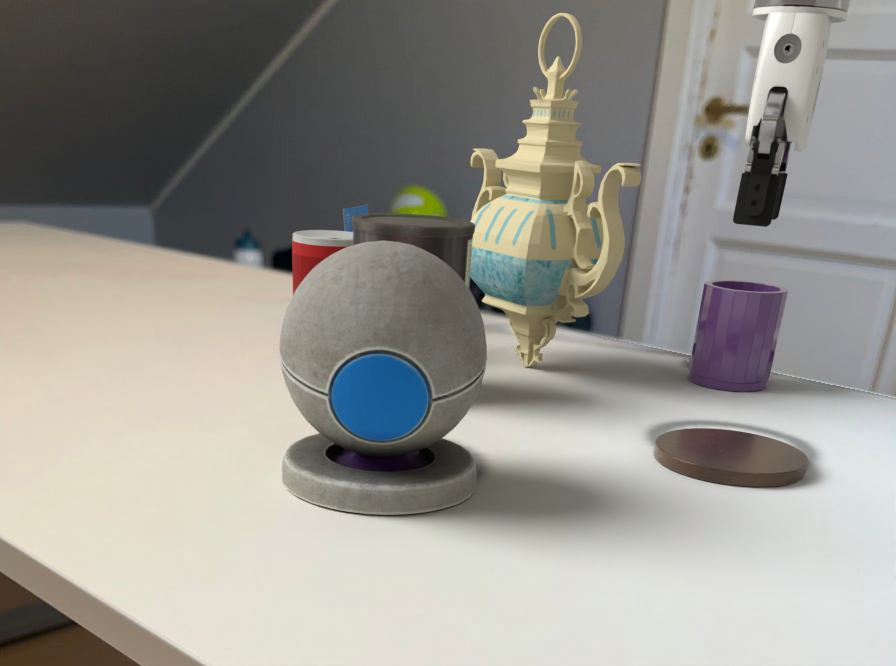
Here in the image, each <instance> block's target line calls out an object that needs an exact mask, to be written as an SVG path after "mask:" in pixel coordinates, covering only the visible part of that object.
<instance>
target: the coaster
mask: <svg viewBox="0 0 896 666" xmlns="http://www.w3.org/2000/svg"><path fill="white" fill-rule="evenodd" d="M653 456H654V459H655V461H656V462H658V463H659V464H660V465H662V466H664V467H665V468H667V469H669V470H671V471H673V472H675V473H678V474H680V475H682V476H683V475H684V476H685V477H689V478H692V479H697V480H701V481H705V482H710V483H715V484H721V485H728V486H737V487H749V488H771V487H772V488H773V487H782V486H786V485H787V486H788V485H792V484H795V483H797V482H799V481H801V480H803V478H804V477H805V476H806V473H807V470H808V465H809V458H808V456H807V455H806V453H805V452H803V451H802V450H800V449H799V448H797V447H795V446H794V445H791V444H789V443H787V442H784V441H781V440H778V439H775V438H773V437H769V436H765V435H761V434H756V433H751V432H746V431H741V430H732V429H725V428H711V427H710V428H709V427H708V428H707V427H693V428H690V427H689V428H679V429H674V430H670V431H669V430H668V431H667V432H664V433H661V434H659V436H657V437H656V439H655V443H654V448H653Z"/></svg>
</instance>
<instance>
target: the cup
mask: <svg viewBox="0 0 896 666" xmlns="http://www.w3.org/2000/svg"><path fill="white" fill-rule="evenodd" d="M789 292H790V291H789V289H788V288H786V287H784V286H780V285H777V284H772V283H765V282H760V281H751V280H750V281H749V280H740V279H739V280H737V279H713V280H707V281H705V282H704V284H703V289H702V295H701V300H700V305H699V310H698V312H699V313H698V317H697V322H696V327H695V334H694V338H693V339H694V340H693V343H692V350H691V356H690V362H689V367H688V375H687V378H688V381H690V382H691V383H693V384H696V385H698V386H701V387H705V388H708V389H714V390H719V391H727V392H740V393H744V392H745V393H748V392H749V393H750V392H758V391H759V392H760V391H763V390H766V389H767V388H768V385H769V381H770V377H771V373H772V368H773V365H774V364H773V363H774V359H775V354H776V350H777V345H778V340H779V335H780V332H781V326H782V322H783V317H784V313H785V308H786V303H787V301H788V300H787V299H788V296H789V295H788V294H789Z"/></svg>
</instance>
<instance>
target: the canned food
mask: <svg viewBox="0 0 896 666" xmlns="http://www.w3.org/2000/svg"><path fill="white" fill-rule="evenodd" d="M291 243H292V244H291V247H292V248H291V249H292V250H291V258H292V259H291V262H292V263H291V264H292V265H291V266H292V270H291V271H292V296H293V295H294V293H295V291H296V289H297V288H298V286H299V285H300V283H301V282H302V281H303V280H304V278H305V277H306V276H307V275H308V273H309V272H310V271H311V270H312V269H313V268H314V267H315V266H316V265H318V264H319V263H320V262H321V261H323V260H324V259H326V258H327V257H329V256H330V255H332V254H333V253H335V252H337V251H340V250H342V249H344V248H346V247H349V246H352V245H353V232H347V231H344V230H333V229H331V230H330V229H308V230H298V231H294V232H293V233H292V238H291Z"/></svg>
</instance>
